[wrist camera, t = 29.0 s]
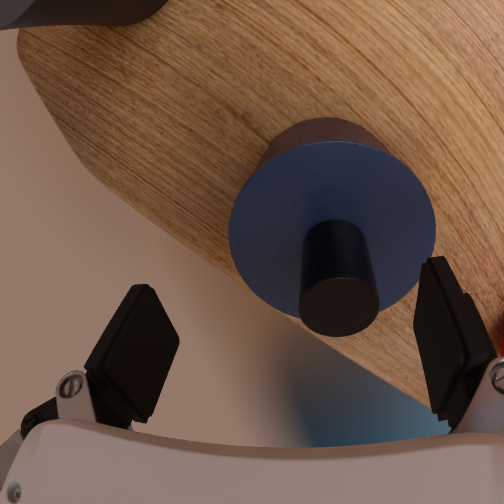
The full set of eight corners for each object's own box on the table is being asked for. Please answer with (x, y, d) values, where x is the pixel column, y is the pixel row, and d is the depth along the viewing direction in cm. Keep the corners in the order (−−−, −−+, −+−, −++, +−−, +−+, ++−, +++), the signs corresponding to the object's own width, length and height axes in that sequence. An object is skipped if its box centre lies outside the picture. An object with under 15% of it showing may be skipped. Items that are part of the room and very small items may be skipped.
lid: (256, 316, 23) (240, 386, 18) (208, 154, 17) (163, 202, 12) (422, 302, 20) (442, 372, 15) (430, 127, 14) (485, 165, 9)
